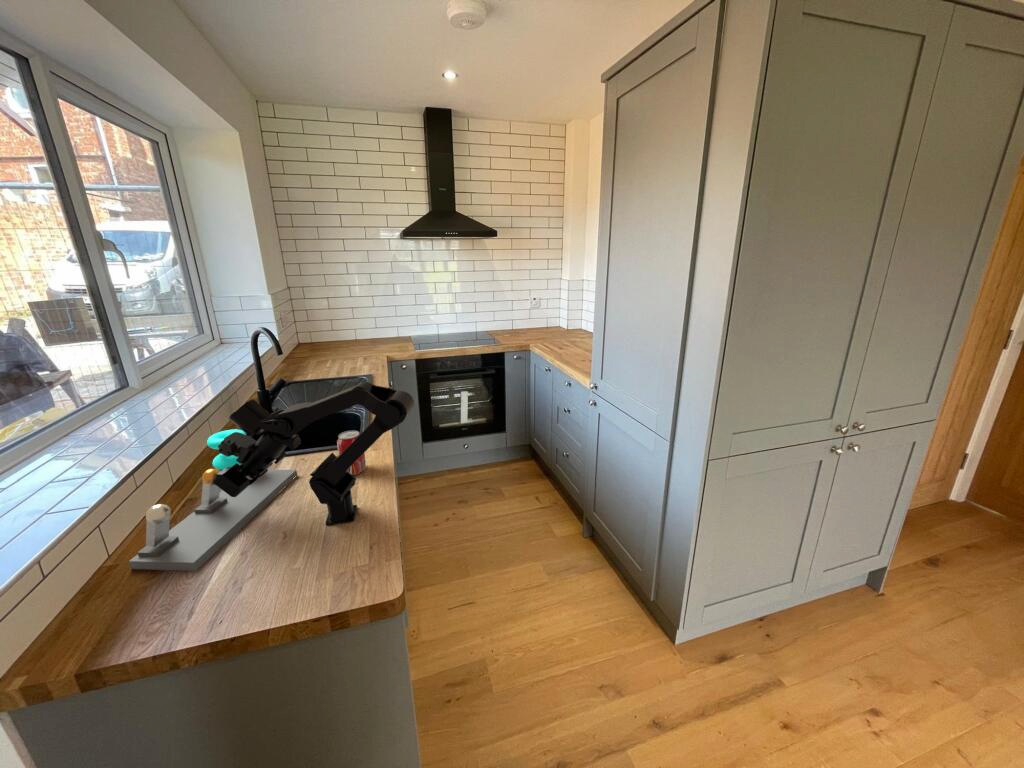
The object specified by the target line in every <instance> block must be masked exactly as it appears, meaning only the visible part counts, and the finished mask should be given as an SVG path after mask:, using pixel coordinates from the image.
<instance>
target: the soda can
mask: <svg viewBox="0 0 1024 768" xmlns="http://www.w3.org/2000/svg"><path fill="white" fill-rule="evenodd" d="M359 435H360V432H359V431H358V430H346V431H343V432H341V433H339V434H338V436H337V437H338V439H337V440H336V444H337V446H336V448H337V451H338V452H337V453H338V455H340V454H341V453H343V451H344V450H345V449H346V448H347V447H348V446H349V445H350V444H351V443H352V442H353V441H354V440H355V439H356V438H357V437H358V436H359ZM365 454H366V452H364V453H363V454H362V455H361V456H360V457H359V458H358V459H357V460H356V461H355V462H354V463H353V464H352V465H351V467H350V469H349V471H348V472H349V473H350V474H351V475H353V476H355V475H358V474H361V473H362V472H363V471H364V470H365V469H366V467H367V466H366V464H367V463H366V457H365V456H366V455H365ZM360 472H361V473H360Z"/></svg>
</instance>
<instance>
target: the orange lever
mask: <svg viewBox="0 0 1024 768" xmlns="http://www.w3.org/2000/svg"><path fill="white" fill-rule="evenodd" d="M221 471H222V470H219V469H216V468H208V469H207V470H205V471H204V473H202V477H201V479H202V488H201V489H202V490H201V501H200V503H201V504H204V505H208V506H209V505H210V504H211V503H213V502H214V501H215V500H217V499H218V498H219V494H220V492H221V489H220V488H219V487H218V486H216V485H215V484H214V483H212V479H213V478H214V477H215V476H216V474H218V473H219V472H221ZM201 504H200V505H201Z"/></svg>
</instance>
